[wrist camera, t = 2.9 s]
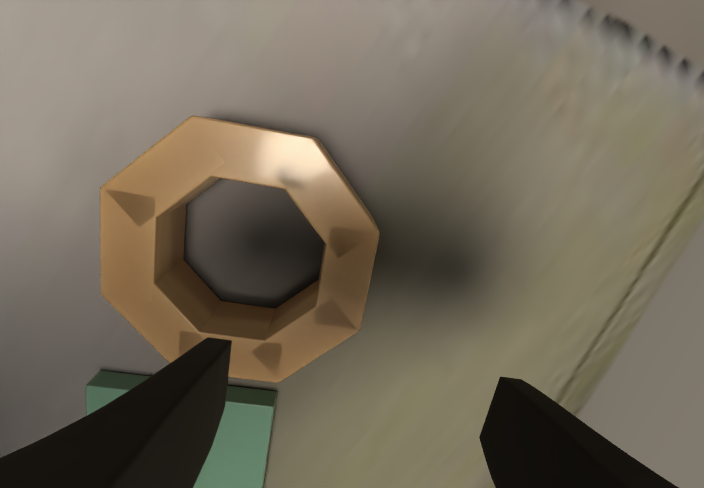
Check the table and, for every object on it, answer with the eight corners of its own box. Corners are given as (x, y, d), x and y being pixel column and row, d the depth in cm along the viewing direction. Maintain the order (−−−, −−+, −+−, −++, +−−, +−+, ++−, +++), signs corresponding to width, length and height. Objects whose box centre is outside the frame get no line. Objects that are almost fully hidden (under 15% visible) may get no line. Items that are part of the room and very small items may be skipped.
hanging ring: (138, 326, 18) (100, 361, 15) (142, 105, 15) (98, 98, 12) (345, 353, 19) (347, 391, 16) (385, 150, 16) (396, 153, 13)
